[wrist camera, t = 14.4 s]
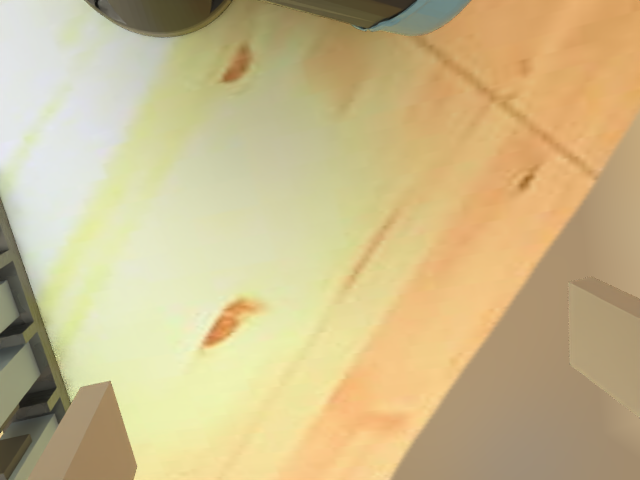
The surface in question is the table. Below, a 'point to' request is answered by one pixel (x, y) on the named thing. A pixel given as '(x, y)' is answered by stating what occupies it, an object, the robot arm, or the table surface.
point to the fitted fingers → (28, 435)
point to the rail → (29, 336)
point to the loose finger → (15, 378)
